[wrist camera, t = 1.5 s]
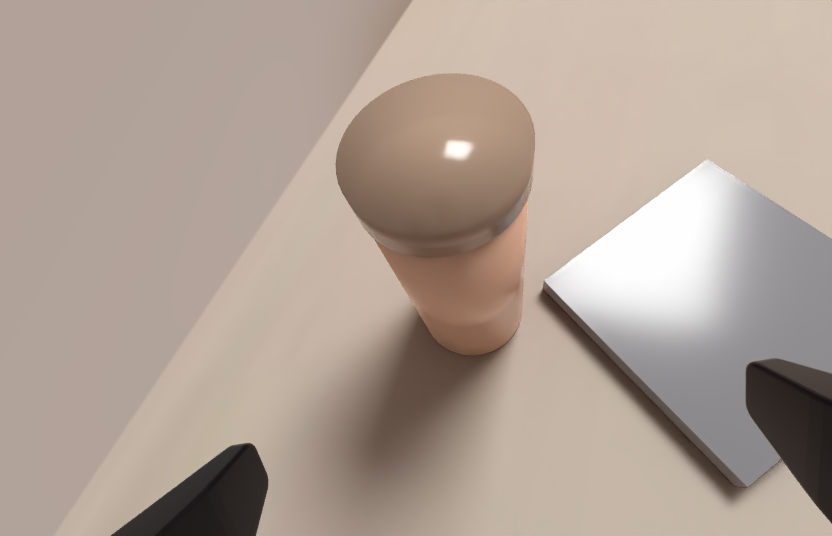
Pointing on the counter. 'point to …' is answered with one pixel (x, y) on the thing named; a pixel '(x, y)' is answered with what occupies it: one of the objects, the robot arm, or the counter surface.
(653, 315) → the coaster
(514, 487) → the counter surface
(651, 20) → the counter surface
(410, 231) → the spice jar
